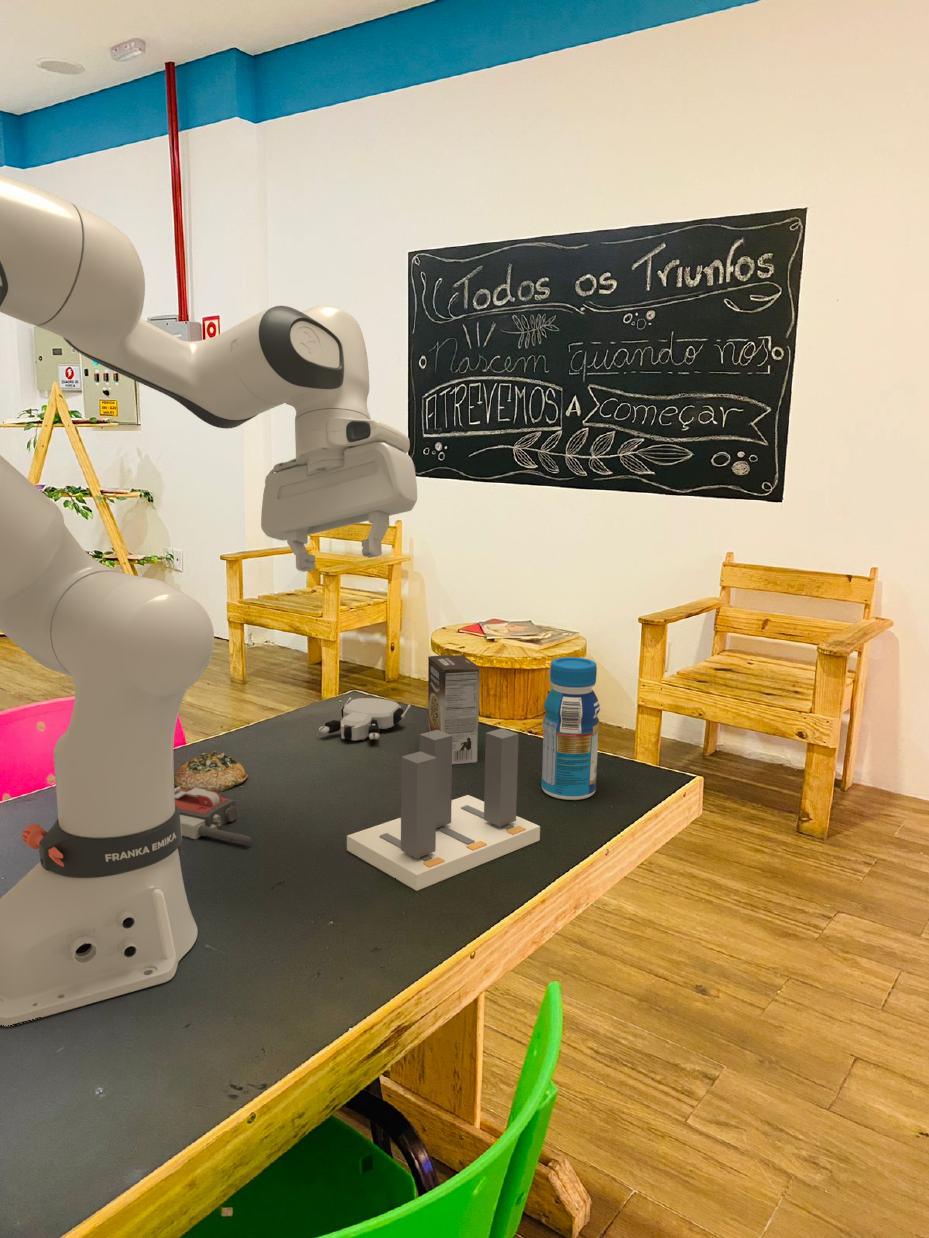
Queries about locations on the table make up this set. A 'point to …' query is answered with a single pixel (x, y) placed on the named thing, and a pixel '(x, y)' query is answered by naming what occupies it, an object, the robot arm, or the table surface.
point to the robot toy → (365, 718)
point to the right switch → (501, 777)
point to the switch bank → (443, 845)
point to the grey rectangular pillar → (440, 771)
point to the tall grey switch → (418, 804)
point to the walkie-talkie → (206, 814)
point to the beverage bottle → (571, 730)
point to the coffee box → (455, 703)
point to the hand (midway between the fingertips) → (338, 563)
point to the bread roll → (210, 773)
